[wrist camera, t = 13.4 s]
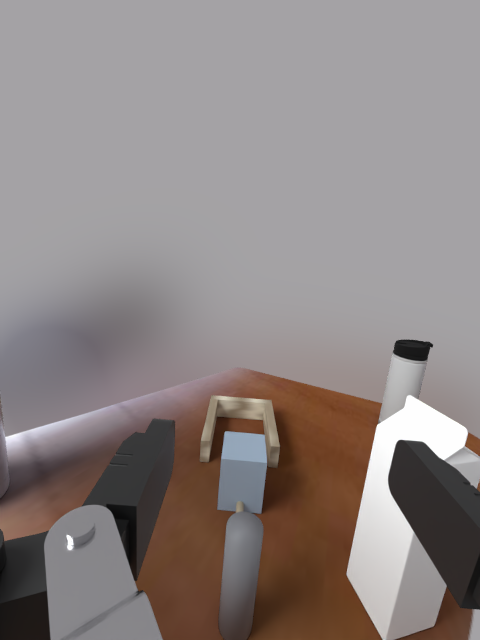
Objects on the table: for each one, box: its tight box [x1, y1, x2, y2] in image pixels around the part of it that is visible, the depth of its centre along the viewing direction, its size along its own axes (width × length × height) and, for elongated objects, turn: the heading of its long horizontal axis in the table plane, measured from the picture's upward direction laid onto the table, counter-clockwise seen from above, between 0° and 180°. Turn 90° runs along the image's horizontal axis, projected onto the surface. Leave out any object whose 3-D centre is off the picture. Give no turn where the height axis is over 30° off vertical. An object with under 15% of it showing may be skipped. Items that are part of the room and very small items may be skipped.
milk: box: [346, 395, 480, 640], centre depth 27 cm, size 6×6×22 cm
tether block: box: [217, 431, 267, 640], centre depth 34 cm, size 6×20×11 cm, turn 178°
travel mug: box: [378, 340, 433, 424], centre depth 60 cm, size 6×7×20 cm
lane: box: [200, 396, 280, 468], centre depth 54 cm, size 13×16×4 cm
